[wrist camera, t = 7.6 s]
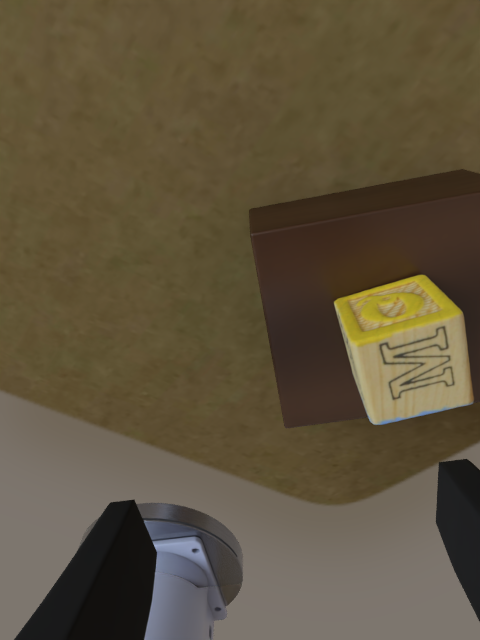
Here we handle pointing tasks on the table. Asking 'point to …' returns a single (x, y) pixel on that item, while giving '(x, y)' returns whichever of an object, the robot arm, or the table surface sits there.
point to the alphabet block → (406, 349)
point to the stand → (359, 277)
